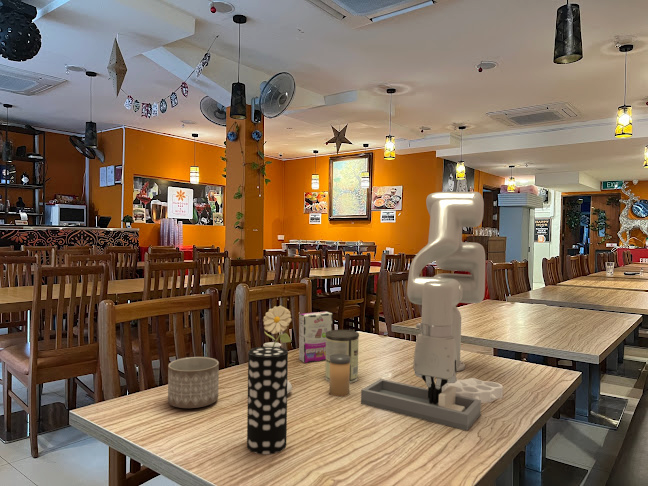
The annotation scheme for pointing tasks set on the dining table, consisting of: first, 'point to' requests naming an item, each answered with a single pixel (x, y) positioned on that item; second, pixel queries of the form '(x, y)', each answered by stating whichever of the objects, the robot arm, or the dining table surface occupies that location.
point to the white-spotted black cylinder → (267, 399)
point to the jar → (339, 374)
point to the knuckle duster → (477, 389)
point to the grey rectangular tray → (419, 404)
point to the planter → (193, 382)
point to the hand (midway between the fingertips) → (434, 402)
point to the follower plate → (449, 399)
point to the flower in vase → (278, 328)
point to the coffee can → (342, 350)
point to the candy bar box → (313, 335)
